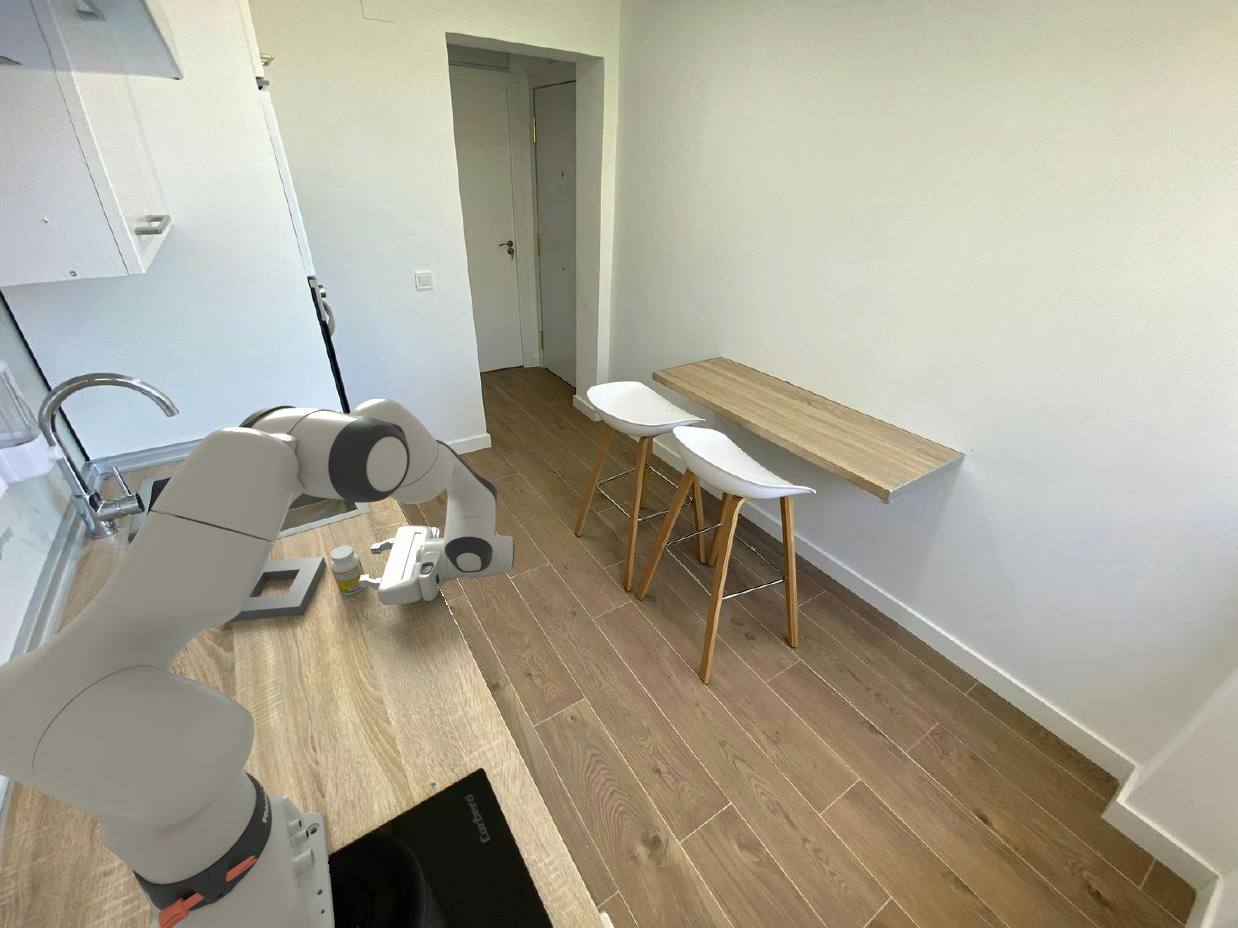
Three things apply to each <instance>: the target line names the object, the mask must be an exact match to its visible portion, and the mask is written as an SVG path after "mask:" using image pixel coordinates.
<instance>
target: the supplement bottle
mask: <svg viewBox="0 0 1238 928" xmlns="http://www.w3.org/2000/svg"><path fill="white" fill-rule="evenodd" d="M330 558H331V562H330V569H331V572H332V575H333V577H334V580H335V582H336V586H337V588H338V590H339V591H338V592H340V594H343V595H347V596H348V595H349V596H351V595H355V594H358V593H360V592H361V591H362V590H364V589H365V587H360V586H359V584H358V581H359V578H360V576H362V575H363V576H365V572H364V568H363V565H362V562H361V559H360V557H359V555H358V554H356V553H355V552H354V549H353V547H352V546H350V545H341V546H337V547H336V548H334V549H333V550H332V551H330Z"/></svg>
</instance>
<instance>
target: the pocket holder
mask: <svg viewBox="0 0 1238 928" xmlns="http://www.w3.org/2000/svg"><path fill="white" fill-rule="evenodd" d="M326 567H327V562H326V559H325V557H324V556H312V557H311V556H310V557H298V558H285V559H271V560H268V559H267V561H266V563H265V565H264V567H263V570H262V572H261V574H260V576H259V578H258V580H257V582H256V584H255V586H254V589H253V591H252V593H251V595H250V597H249V599H248V601H247V604H246V606H245V607H244V608H243V610H242V611H241V612H240V613H239V614H238V615H237V616H236V617H234V618H233V619H231V620H230V621H228V622H227V623H229V622H239V621H241V622H242V621H250V620H251V621H252V620H261V619H262V620H263V619H271V618H272V619H274V618H284V617H286V618H287V617H295V616H296V617H298V616H303V615H304V614H305V612H306V610H307V608H308V606H309V604H310V601H311V599H312V597H313V595H314V594H315V593H314V592H315V591H316V589H317V587H318V584H319V582H320V580H321V578H322V576H323V573H324V571H325V569H326ZM292 579H294V580H293V582H292V584H291V586H290V588H289V590H288V592H287V594H277V595H275V594H274V595H265V596H264V595H262V596H260V595H261V593H262V591H263V590H264V588H265V586H266V585H267V583H268V582H270V581H278V580H279V581H280V580H281V581H282V580H292Z"/></svg>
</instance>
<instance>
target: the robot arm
mask: <svg viewBox="0 0 1238 928" xmlns="http://www.w3.org/2000/svg"><path fill="white" fill-rule="evenodd" d="M445 489H446V492H447V498H446V499H447V501H446V502H447V503H446V514H445V515H446V518H445V526H444V537H442V536H443V533H442V530H440V529H439V528H438V527H436V526H435V527H434V526H433V527H432V526H431V527H430V526H427V525H426V526H425V525H413V524H412V525H410V524H409V525H403V526H399V527H398V528H397V531H396V535H395V537H393V538H388V539H386V540H384V541H382V542H376V543H372V544H371V547H370V552H371V554H372V555H380V554H382V552H384V551H387V550H390V552H389V555H388V558H387V561H386V565H385V567H384V570H383V573H382V575H381V577H377V578H375V579H373V578H371V577H370V574H366V575H365V576H363V575H362V576H360V578H359V581H358V584H359V586H360V587H364V588H370V589H373V590H375V591H377V597H378V598H379V602H380V604H381V603H382V604H383V605H386V606H394V605H406V604H412V603H416V602H417V601H419V600H421V598H422V599H423V600H424V601H429V602H430V601H433V600H434V599H435V598H436V596H437V595H438V593H439V591H440V590H441V588H443V586H444V584H445V583H446V581H452V580H453V581H454V580H456V579H459V578H470V579H476V578H486V577H492V576H498V575H502V574H503V575H504V574H507V573H509V572H510V571H511V570H512V569H513V567H514V562H515V551H516V550H515V549H516V546H515V540H514V537H512V536H510V535H501V534H499V533H498V531H497V530H496V513H497V512H496V509H497V501H498V490H497V488H496V487H495V485H494V484H492V482H490V481H489V480H487V479H486V478H485V477H483V476H480V475H479V474H478V473H476V472H475V470H473V468H471V467H470V466H469V464H468V463H467V462H466V461H465V460H464V459H463V458H462V456H460V455H459V454H458V453H457V451H455V450H454V449H453V448H452V447H451V446H449V445H448V443H446V442H443V441H442V440H439V439H435V437H434V436H433V435H432V433H431V432H430V431H429V430H428V429H427V428H426V426H425V425H424V424H423V423H422V422H421V421H420V419H418V418H417V417H416V416H415V415H414V414H413V413H411V412H410V411H409V410H408V409H407V408H405V407H404V406H403V405H402V404H400V403H399V402H397V401H395V400H392V399H389V398H374V399H373V398H372V399H369V400H367V401H363V402H362V403H360V404H358V405H357V406H355V407H354V408H353V409H352V410H351V412H349V413H343V412H338V411H336V410H332V409H326V408H317V407H316V408H315V407H296V406H293V405H276V406H270V407H266V408H262V409H260V410H257V411H255V412H253V413H252V414H251V415H249V416H248V417H246V418H245V419H244V420H243V421H242V422H241V423H240V424H239V425H238V426H236V427H234V426H233V427H231V426H230V427H225V428H224V427H223V428H220V429H216V430H214V431H212V432H211V433H209V434H208V435H207V434H206V436H205V437H204V438H203V439H202V440H200V442H198V444H197V445H196V446H195V448H193V450H192V451H190V453H189V454H188V456H187V457H186V458H185V459H184V460H183V461H182V463H181V464H180V465H179V466H178V467H177V470H176V471H175V472H174V473H173V475H172V476H171V477H170V478H169V480H168V482H167V483H166V484H165V486H164V487H163V489H162V491H161V492H160V494H159V495H158V496H157V499H156V500H155V501H154V504H153V505H152V507H150V508H151V511H149V512H148V514H147V516H146V518H145V519H144V521H143V522H142V524H141V526H140V528H139V529H138V530H137V532H136V534H135V536H134V538H133V540H132V541H131V543H130V544H129V546H128V548H127V549H126V551H125V553H124V555H123V556H122V558H121V559H120V561H119V562H118V564H117V566H116V568H115V569H114V570H113V572H112V574H111V576H110V577H109V579H108V580H107V581H106V583H105V584H104V586H103V587H102V588H101V589H100V590H99V592H98V593H97V594H96V595H95V597H94V598H93V599H92V600H91V601H90V602H89V603H88V604H87V606H85V608H83V609H82V611H81V612H79V614H78V615H76V617H74V619H72V620H71V621H70V622H69V623H68V624H67V625H66V626H65V627H64V628H63V629H61V630H60V631H59V632H58V633H57V634H55V635H54V636H52V637H51V639H49V640H48V641H46V642H44V643H43V644H42V645H41V646H38V647H37V648H35V649H33V650H31V651H28V652H26V653H23V654H21V655H18V656H16V657H13V658H11V659H9V660H7V661H6V662H4V663H3V664H0V776H2V777H5V778H8V779H10V780H13V781H15V782H18V783H20V784H22V785H24V786H27V787H30V788H33V789H35V790H38V791H40V792H41V793H43V794H44V795H46V796H48V797H51V798H53V799H55V800H58V801H60V802H61V803H64V804H67V805H69V806H70V807H73V808H74V809H77V810H79V811H81V812H83V813H85V814H87V815H88V816H91V817H92V818H94V819H95V820H96V821H98V823H100V827H99V834H100V839H101V842H102V844H103V845H104V847H105V848H106V849H108V850H109V851H110V852H112V853H113V854H114V855H115V856H116V857H117V858H118V859H120V860H121V861H122V862H123V863H125V864H126V865H127V866H128V867H130V868H131V869H132V872H133V875H134V877H135V878H136V881H137V883H138V885H139V887H140V889H139V894H140V895H142V896H143V897H144V898H146V900H147V903H148V905H149V907H150V910H151V912H152V914H153V916H154V919H153V920H152V922H151V923H150V925H149V927H148V928H335V913H334V906H333V905H334V904H333V893H332V892H333V891H332V885H331V884H332V882H331V874H330V873H329V871H330V863H329V864H328V861H329V851H328V841H327V832H326V831H327V830H326V820H325V817H324V816H323V815H322V814H321V813H320V812H316V811H314V812H313V811H312V812H302V811H301V810H300V809H299V808H298V806H297V805H296V804H295V803H294V802H293V800H292V799H291V798H290V797H289V796H287V795H283V794H282V795H281V794H274V793H273V794H272V793H267V792H266V790H265V788H264V786H263V784H262V783H261V782H260V781H259V780H258V779H257V778H255V777H254V775H252V774H251V773H249V772H247V771H245V770H244V767H245V765H246V764H247V762H248V759H249V756H250V754H251V752H252V749H253V745H254V744H253V743H254V738H255V721H254V717H253V715H252V713H251V712H250V711H249V710H248V709H247V708H246V707H244V706H243V705H242V704H241V703H239V702H238V701H236V700H235V699H233V698H232V697H230V695H228V694H226V693H224V692H223V691H221V690H219V689H218V688H216V687H215V686H213V685H211V684H208V683H205V682H202V681H199V680H196V679H192V678H189V677H186V676H182V675H179V674H176V673H173V672H170V669H171V666H172V664H173V662H174V661H175V659H176V658H177V657H178V656H179V654H180V653H181V652H182V651H183V650H184V648H185V647H186V646H187V645H188V644H189V643H190V642H191V641H192V640H193V639H194V638H195V637H196V636H197V635H199V634H200V633H202V632H204V630H208V629H213V628H215V627H218V626H221V625H223V624H226V623H229V622H228V621H230V620H231V619H233V618H234V617H236V616H237V615H238V614H239V613H240V612H241V611H242V610H243V608H244V607H245V606H246V604H247V601H248V599H249V597H250V595H251V593H252V591H253V589H254V586H255V584H256V582H257V580H258V578H259V576H260V574H261V572H262V570H263V567H264V565H265V563H266V561H268V559H269V557H270V554H271V552H272V550H273V548H274V546H275V544H274V543H276V542H277V540H278V537H279V535H280V532H281V531H282V530H281V529H282V528H283V525H284V524H285V523H284V522H285V519H286V517H287V515H288V511H289V510H290V506H291V505H292V504H293V503H294V502H295V501H296V500H297V499H298V498H299V497H300V496H302V494H305V495H308V496H312V497H316V498H317V497H318V498H321V499H322V498H324V499H332V500H345V501H348V502H349V503H350V502H351V503H355V504H356V503H357V504H358V503H360V504H361V503H362V504H363V503H375V502H380V501H384V500H386V499H387V498H389V497H390V498H391V499H392V500H395V501H397V502H399V503H402V504H409V505H411V504H412V505H413V504H421V503H425V502H429V501H431V500H432V499H434V498H436V497H438V496H439V495H441V494H442V492H444V491H445ZM438 587H439V588H438ZM314 831H315V832H314ZM313 832H314V833H313Z"/></svg>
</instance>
